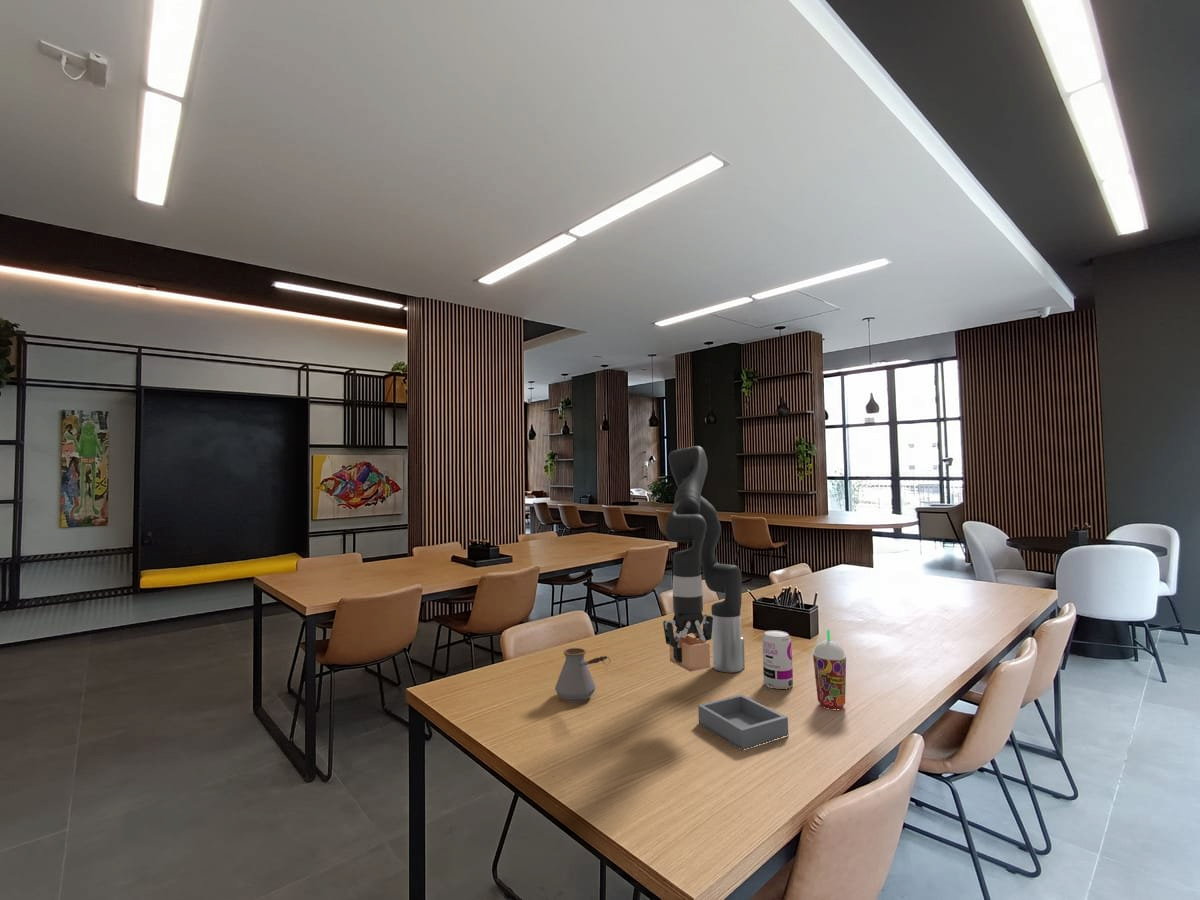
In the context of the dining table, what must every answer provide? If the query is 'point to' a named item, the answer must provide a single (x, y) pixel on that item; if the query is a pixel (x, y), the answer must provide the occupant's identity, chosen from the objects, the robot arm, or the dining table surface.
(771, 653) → the supplement can
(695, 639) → the terracotta crate
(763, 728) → the grey crate
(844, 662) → the smoothie
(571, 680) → the coffee pot
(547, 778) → the dining table surface
